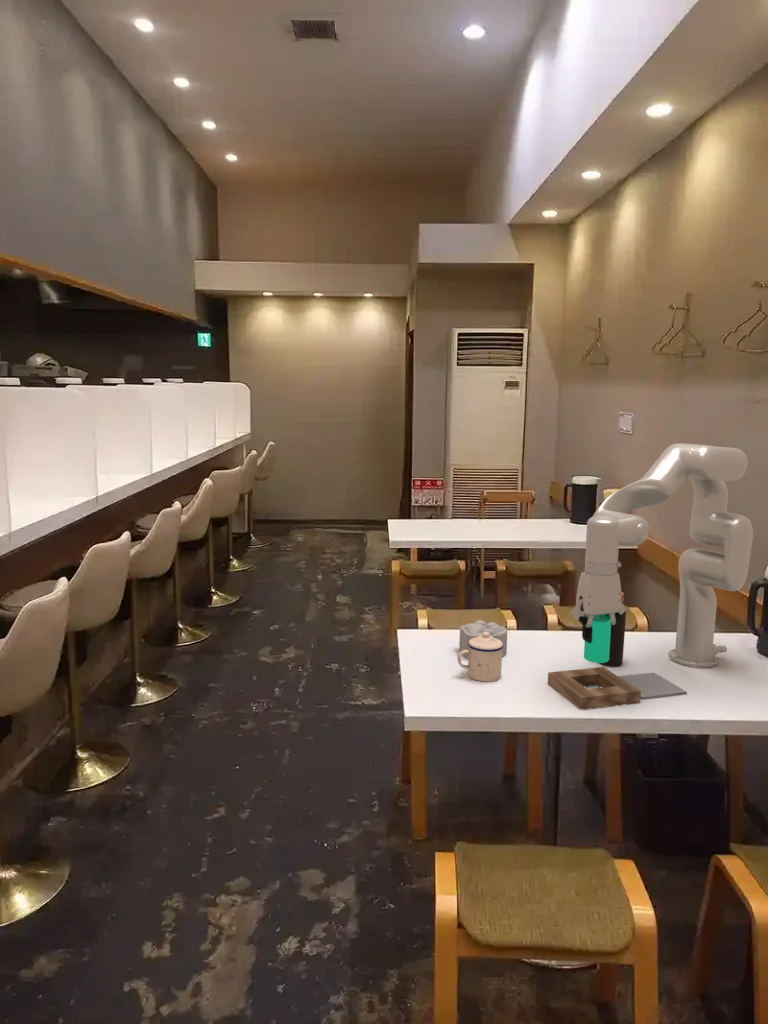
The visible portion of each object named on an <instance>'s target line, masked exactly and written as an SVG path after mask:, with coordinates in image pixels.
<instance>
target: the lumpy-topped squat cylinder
mask: <svg viewBox="0 0 768 1024" xmlns="http://www.w3.org/2000/svg"><path fill="white" fill-rule="evenodd" d="M483 632H488V633H489V634H490V636H492V637H493V638H496V639H498V640H500V641H501V642H502V643H503V648H502V657H503V658H504V657H506V656H507V652H508V651H507V648H508V629H507V628H506V627H504V626H502V625H499V624H498V623H497V622H493V621H492V622H486V621H484V620H480V619H479V620H475V622H474V623H473V622H472V623H467V624H463V625H461V626H460V627H459V643H458V644H459V648H458V649H459V653H460V652H461V651H462V650H469V646H468V642H469V640H470V639H472V638H475V637H479V636H481V635H482V633H483ZM462 656H463V658H464V659H465V660H468V656H469V653H465V654H463V655H462Z"/></svg>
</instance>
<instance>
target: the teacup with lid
mask: <svg viewBox="0 0 768 1024" xmlns="http://www.w3.org/2000/svg"><path fill="white" fill-rule="evenodd" d="M468 646H469V650H462V651H461V652H459V653H458V654H457V660H456V661H457V663H458V665H459V666H460V667H461V668H463V669H465V670H467V675H468V677H470V679H472V680H475V681H479V682H486V683H487V682H495V681H498V680H499V679H501V677H502V665H503V664H502V663H503V658H502V648H503V643H502V642H501V641H500V640H498V639H496V638H493V637H492V636H490V634H489V633H488V632H483V633H482V635H481V636H479V637H475V638H472V639H470V640H469V642H468ZM465 653H469V656H468V661H467V665H466V664H463V662H462V660H461V658H462V656H463V654H465Z"/></svg>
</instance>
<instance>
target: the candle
mask: <svg viewBox="0 0 768 1024" xmlns="http://www.w3.org/2000/svg"><path fill="white" fill-rule="evenodd" d="M586 620H587V618H586ZM590 627H592V642H591V643H588V642H586V641H585V640H584V646H583V647H584V648H583V659H584V660H585V661H588V662H589V663H594V664H600V663H605V662H608V661H609V653H610V634H611V618H610V617H609V616H605V615H594V616H593V620H592V623H591V626H590Z"/></svg>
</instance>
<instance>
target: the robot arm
mask: <svg viewBox="0 0 768 1024" xmlns="http://www.w3.org/2000/svg"><path fill="white" fill-rule="evenodd" d="M748 463H749V462H748V457H747V455H746V453H745V452H744V451H743V450H742V449H740V448H736V447H727V446H726V447H724V446H715V445H708V444H696V443H683V442H681V443H680V442H679V443H673V444H670V445H669V446H668V447H666V448H665V449H664V450H663V452H662V453H661V455H660V456H659V457H658V458H657V459H656V460H655V462H653V464H652V465H651V467H650V468H649V469H648V471H646V472H645V474H644V475H643V476H642V477H641V478H640V479H638V480H636V481H634V482H631V483H629V484H627V485H626V486H623V487H622V488H620V489H618V490H616V491H614V492H613V493H611V494H609V495H608V496H607V497H606V498H605V499H604V500H603V501H602V503H601V504H600V505H599V506H598V508H597V509H596V510H595V512H594V514H593V515H592V517H590V518H589V519H588V520H587V522H586V532H585V533H586V534H585V535H586V537H585V538H586V539H585V557H584V558H585V559H584V571H583V572H581V573H580V577H579V581H578V585H577V591H576V600H575V606H574V607H573V609H572V610H571V612H570V615H571V616H573V617H574V618H575V619H576V620H577V621H578V622H579V623H580V624H581V625H582V628H581V629H582V630H581V637H582V640H583V641H584V642H585V641H586V642H588V643H591V642H592V627H590V626H591V623H592V620H593V616H594V615H605V616H609V617H610V618H611V634H610V641H612V636H613V625H615V624H616V621H617V619H618V618H619V617H620V615H622V614H623V613H624V612H625V611H626V612H627V608H626V607H625V605H624V602H623V603H622V602H621V592H622V585H621V578H620V573H618V569H619V568H621V567H622V562H621V561H619V548H620V547H622V546H623V547H634V546H636V547H637V546H639V545H641V544H643V543H644V542H645V541H646V540H647V538H649V535H650V526H649V523H648V521H647V520H646V519H645V518H643V517H642V516H639V515H636V514H632V513H631V514H630V513H629V512H631V511H634V510H638V509H642V508H649V507H652V506H653V507H655V506H658V505H662V504H665V503H667V502H668V501H669V500H670V499H671V498H672V497H674V494H675V493H676V492H677V491H678V489H679V488H680V487H681V486H682V484H683V483H684V482H685V481H686V479H689V481H690V482H691V484H692V488H693V498H692V499H693V501H692V507H691V516H690V521H689V537H690V538H691V539H692V541H694V542H695V543H698V544H701V545H706V546H711V547H716V548H721V549H724V552H719V551H717V550H710V549H706V548H697V547H692V548H689V549H686V550H685V551H683V552H682V554H681V555H680V556H679V559H678V564H677V565H678V568H677V569H678V576H679V601H678V602H679V603H678V613H677V626H676V635H675V636H676V638H675V646H674V647H675V648H673V649H671V650H670V651H669V652H668V657H669V659H670V660H671V661H673V662H675V663H677V664H680V665H683V666H685V667H686V666H687V667H691V668H700V669H701V668H702V669H704V668H712V667H715V666H717V665H718V663H719V659H718V657H717V656H716V655H718V653H719V654H721V653H727V651H728V650H727V649H728V647H727V645H717V644H715V643H714V637H715V629H716V628H715V627H716V616H717V607H718V603H717V602H718V601H717V595H716V592H715V590H714V589H715V588H716V589H719V590H722V591H729V592H736V591H738V590H740V589H742V588H743V586H744V585H745V583H746V580H747V577H748V574H749V573H748V572H749V567H750V560H751V553H752V547H753V538H754V528H753V525H752V522H751V520H750V519H749V518H748V517H746V516H745V515H742V514H737V513H732V512H728V502H729V501H728V500H729V499H728V498H729V491H728V490H729V489H728V487H727V485H726V483H725V482H735V481H738V480H739V479H741V478H742V477H743V476H744V475H745V473H746V472H747V469H748ZM581 612H582V614H581ZM586 618H587V620H586Z"/></svg>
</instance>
